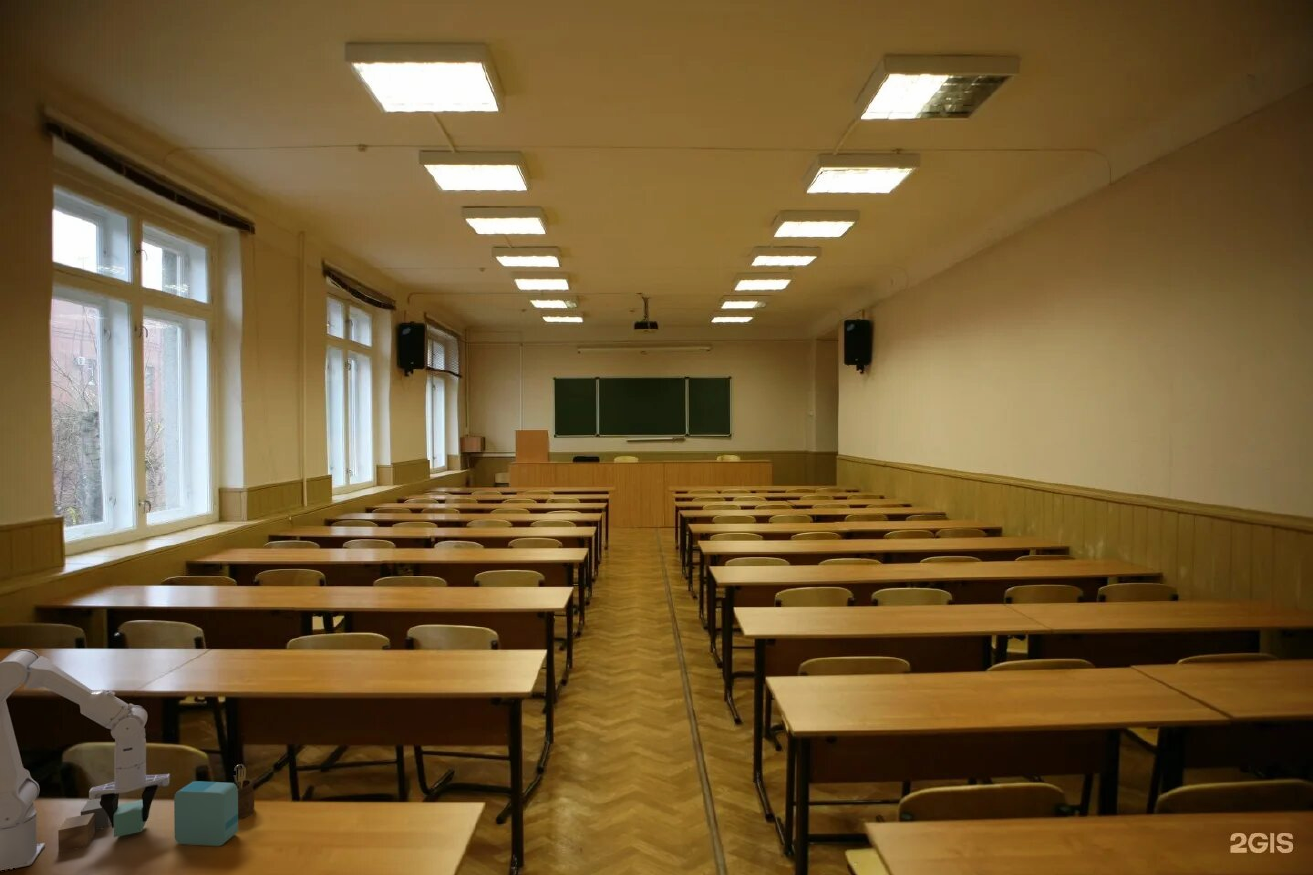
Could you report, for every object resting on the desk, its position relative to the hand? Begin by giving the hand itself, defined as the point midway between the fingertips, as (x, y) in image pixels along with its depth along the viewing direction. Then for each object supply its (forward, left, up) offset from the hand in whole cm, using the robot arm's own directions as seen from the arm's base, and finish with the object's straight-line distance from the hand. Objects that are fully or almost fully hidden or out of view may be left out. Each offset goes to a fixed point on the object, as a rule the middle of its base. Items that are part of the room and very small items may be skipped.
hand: (130, 822), depth 155 cm
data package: (+16, -10, -3) cm, 19 cm away
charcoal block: (-8, +8, -3) cm, 12 cm away
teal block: (0, 0, -1) cm, 1 cm away
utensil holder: (+22, -1, -3) cm, 22 cm away
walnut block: (-10, +1, -3) cm, 10 cm away
